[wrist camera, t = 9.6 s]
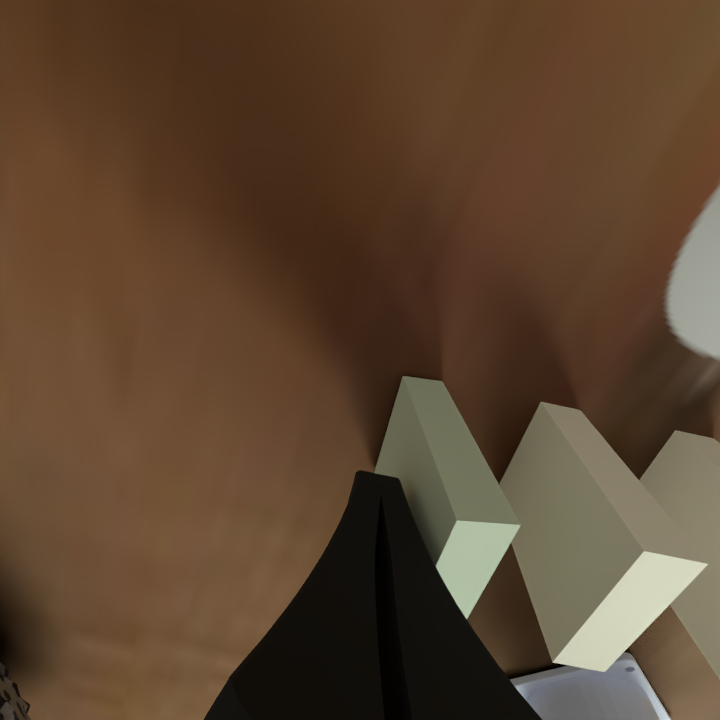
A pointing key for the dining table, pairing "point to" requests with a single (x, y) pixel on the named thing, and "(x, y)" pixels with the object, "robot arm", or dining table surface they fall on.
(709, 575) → the tile
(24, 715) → the bowl
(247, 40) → the dining table surface
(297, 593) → the robot arm
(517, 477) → the tile
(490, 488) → the tile
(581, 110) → the dining table surface
